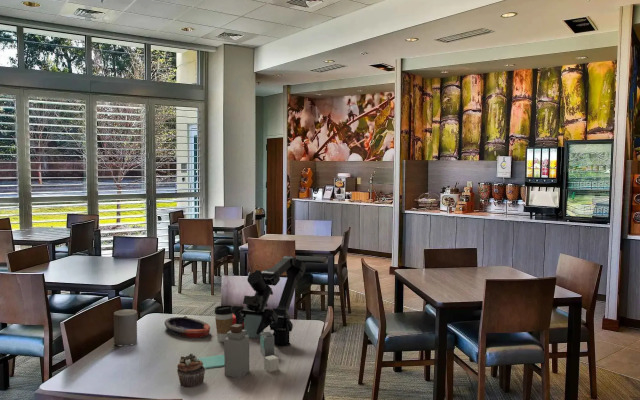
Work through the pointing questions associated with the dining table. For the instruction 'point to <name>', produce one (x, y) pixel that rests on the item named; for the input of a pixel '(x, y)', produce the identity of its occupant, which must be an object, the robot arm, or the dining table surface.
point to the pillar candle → (125, 327)
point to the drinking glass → (252, 325)
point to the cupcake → (190, 371)
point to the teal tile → (212, 361)
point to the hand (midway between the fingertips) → (246, 332)
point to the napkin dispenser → (267, 344)
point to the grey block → (271, 363)
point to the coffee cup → (223, 321)
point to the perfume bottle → (236, 352)
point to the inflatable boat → (187, 327)
